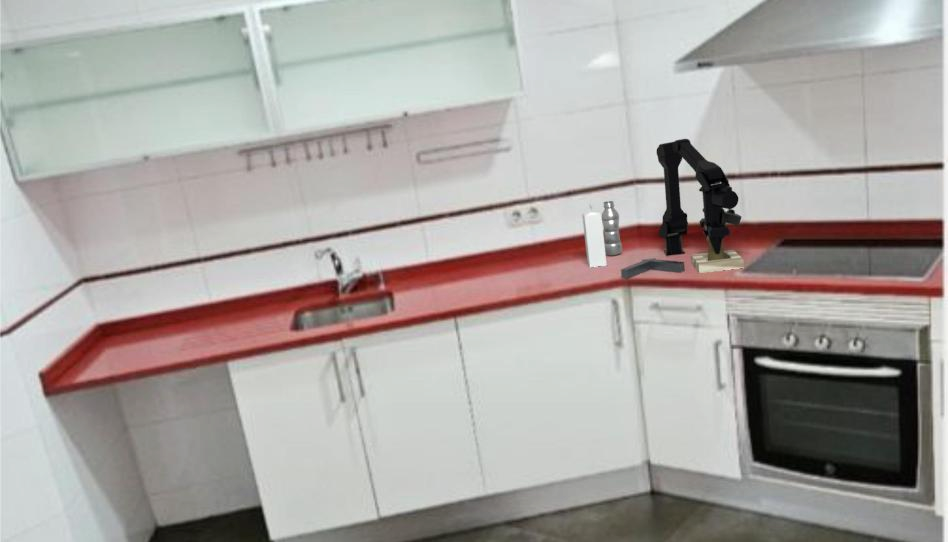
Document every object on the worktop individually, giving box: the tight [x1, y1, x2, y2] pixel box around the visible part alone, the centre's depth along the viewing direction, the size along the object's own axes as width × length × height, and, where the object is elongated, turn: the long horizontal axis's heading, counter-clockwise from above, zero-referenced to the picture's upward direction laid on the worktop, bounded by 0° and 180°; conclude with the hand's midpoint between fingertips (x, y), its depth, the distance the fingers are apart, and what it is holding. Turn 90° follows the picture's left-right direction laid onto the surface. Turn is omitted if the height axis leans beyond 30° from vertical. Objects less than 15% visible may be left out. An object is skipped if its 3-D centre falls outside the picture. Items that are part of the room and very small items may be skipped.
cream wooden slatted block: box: [690, 249, 745, 274], centre depth 266 cm, size 14×14×3 cm
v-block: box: [620, 258, 686, 280], centre depth 271 cm, size 12×20×3 cm, turn 85°
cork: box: [706, 236, 725, 261], centre depth 265 cm, size 6×6×11 cm
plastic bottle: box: [601, 200, 623, 256], centre depth 300 cm, size 6×7×20 cm
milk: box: [581, 203, 608, 269], centre depth 288 cm, size 6×6×22 cm
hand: (716, 252), depth 265 cm, fingers closed on cork, 4 cm apart
